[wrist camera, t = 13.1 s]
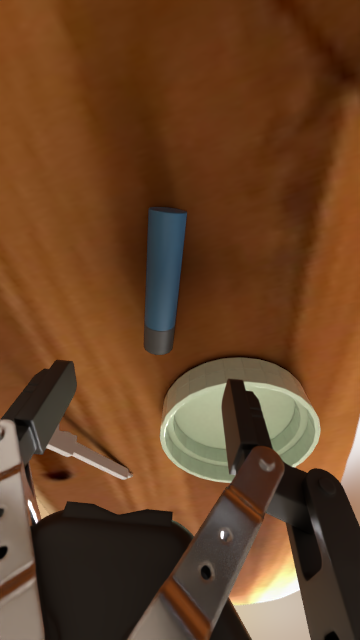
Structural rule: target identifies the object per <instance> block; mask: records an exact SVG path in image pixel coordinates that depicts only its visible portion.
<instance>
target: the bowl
mask: <svg viewBox="0 0 360 640" xmlns="http://www.w3.org/2000/svg"><path fill="white" fill-rule="evenodd" d="M228 378H229V379H239V380H243V381H244V385H245V389H246V391H253V393H254V394H255V395H256V397H257V398H258V399H259V402H260V405H261V411H262V412H263V416H264V419H265V423H266V426H267V430H268V433H269V437H270V440H271V444H272V447H273V449H274V451H275V452H277V453H278V454H279V456H280V457H281V459H282V460H283V461H284V462H285V463H286V464H288V465H290V466H292V467H296V466H297V465H299V464H300V463H302V462H303V461H304V460H305V459H306V458H307V457H308V456H309V455H310V454H311V453H312V451H313V450H314V448H315V446H316V445H317V443H318V440H319V436H320V431H321V429H320V422H319V418H318V416H317V414H316V412H315V410H314V408H313V406H312V404H311V403H310V401H309V399H308V397H307V395H306V393H305V391H304V389H303V388H302V386H301V384H300V382H299V381H298V380H297V379H296V378H295V377H294V376H293V375H292V374H291V373H290V372H288V371H287V370H285V369H283V368H281V367H279V366H278V365H276V364H273V363H270V362H267V361H264V360H260V359H252V358H242V357H238V358H224V359H219V360H215V361H211V362H207V363H204V364H202V365H200V366H198V367H195V368H193V369H191V370H189V371H188V372H187V373H185V374H184V375H183V376H181V377H180V378H179V379H178V380H176V382H175V383H174V384H173V385H172V387H171V388H170V389H169V390H168V393H167V395H166V397H165V399H164V404H163V413H162V421H161V430H160V441H161V444H162V448H163V450H164V452H165V453H166V455H167V456H168V458H169V459H170V460H171V461H172V462H173V463H174V464H175V465H177V466H178V467H179V468H181V469H183V470H184V471H186V472H188V473H190V474H192V475H195V476H197V477H200V478H203V479H207V480H211V481H216V482H226V483H231V482H232V480H233V479H234V477H235V475H230V474H229V469H228V461H227V452H226V444H225V435H224V427H223V419H222V409H221V405H222V398H223V394H224V390H225V387H226V383H227V380H228Z"/></svg>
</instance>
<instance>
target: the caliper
mask: <svg viewBox="0 0 360 640" xmlns="http://www.w3.org/2000/svg"><path fill="white" fill-rule="evenodd" d="M76 440H77V436H76V435H72V434H71V433H70V432H65V431H63V432H62V431H60V430H59V424H58V426H57V428H56V430H55V432H54V434H53V436H52V438H51V439H50V441H49V443H48V445H47V447H46V448H48V449H50V450H52V451H55V452H57V453H59V454H62V455H64V456H66V457H69V456H71V455H72V456H74V457H76V458H78V459H80V460H82V461H84V462H86V463H88V464H90V465H93V466H95V467H97V468H99V469H101V470H103V471H105V472H107V473H109V474H112V475H114V476H116V477H118V478H120V479H122V480H124V479H127V478H130V477H132V476H133V475H132V474H131V473H128V470H129V469H127V468H125V467H124V466H122V465H120V464H118V463H116V462H114V461H112V460H110V459H108V458H106V457H104V456H102V455H100V454H98V453H96V452H94V451H93V450H91V449H89V448H87V447H85V446H83V445H81V444H79V443H77V442H76Z"/></svg>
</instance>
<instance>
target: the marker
mask: <svg viewBox="0 0 360 640" xmlns="http://www.w3.org/2000/svg"><path fill="white" fill-rule="evenodd" d="M186 218H187V212H186V211H184V210H180V209H175V208H167V207H150V208H149V213H148V241H147V269H146V297H145V325H144V348H145V350H146V351H148V352H149V353H151V354H155V355H163V354H167V353H169V352H170V351H171V350H172V348H173V340H174V331H175V321H176V312H177V303H178V293H179V284H180V274H181V265H182V256H183V246H184V237H185V228H186Z"/></svg>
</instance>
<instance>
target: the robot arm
mask: <svg viewBox="0 0 360 640" xmlns="http://www.w3.org/2000/svg"><path fill="white" fill-rule="evenodd" d="M76 386H77V382H76V375H75V369H74V363H73V362H72V361H65V360H56V361H55V362H54V363H53V365H52V366H51V367H50V369H43V370H42V371H40V372H39V373H38V374H36V375H35V376H34V377H33V378H32V380H31V381H30V382H29V383H28V385H27V386H26V387H25V389H24V390H23V392H22V393H21V394H20V395H19V396H18V398H17V399H16V400H15V402H14V403H13V404H12V405H11V407H10V408H9V409H8V411H7V412H6V413H5V414H4V416H3V417H2V418H1V419H0V640H252V639H251V637H250V635H249V634H248V632H247V630H246V628H245V626H244V624H243V622H242V621H241V619H240V617H239V615H238V613H237V612H236V610H235V608H234V606H233V604H232V603H231V601H230V599H229V597H228V596H229V594H230V592H231V590H232V587H233V585H234V583H235V581H236V579H237V577H238V574H239V572H240V570H241V568H242V566H243V563H244V561H245V559H246V557H247V555H248V553H249V550H250V548H251V546H252V544H253V542H254V539H255V537H256V535H257V533H258V531H259V529H260V526H261V524H262V522H263V519H264V515H265V513H267V514H269V515H271V516H273V517H276V518H278V519H280V520H282V521H284V522H286V526H287V531H288V535H289V540H290V545H291V549H292V554H293V559H294V563H295V568H296V573H297V577H298V582H299V587H300V591H301V596H302V600H303V605H304V610H305V615H306V619H307V624H308V629H309V633H310V637H311V640H360V526H359V524H358V521H357V519H356V517H355V514H354V512H353V510H352V507H351V505H350V502H349V500H348V498H347V495H346V493H345V491H344V489H343V487H342V485H341V483H340V482H339V481H338V480H337V479H336V478H335V477H334V476H333V475H332V474H330V473H329V472H327V471H325V470H322V469H317V468H315V469H311V470H310V471H309V472H308V473H306V472H304V471H301V470H299V469H297V468H294V467H292V466H290V465H288V464H286V463H285V462H284V461H283V460H282V459H281V457H280V456H279V454H278V453H277V452H275V451H274V449H273V447H272V444H271V440H270V437H269V433H268V430H267V426H266V423H265V419H264V416H263V412H262V411H261V405H260V402H259V399H258V398H257V397H256V395H255V394H254V393H253V391H246V389H245V385H244V381H243V380H239V379H229V378H228V380H227V383H226V387H225V390H224V394H223V398H222V405H221V409H222V419H223V427H224V435H225V444H226V452H227V461H228V469H229V474H230V475H235V477H234V479H233V480H232V482H231V483H230V485H229V486H228V487H226V488H225V490H224V491H223V493H222V494H221V496H220V497H219V499H218V500H217V502H216V504H215V505H214V507H213V508H212V510H211V511H210V513H209V515H208V516H207V518H206V519H205V521H204V522H203V524H202V525H201V527H200V529H199V530H198V532H197V533H196V535H195V536H193V535H192V534H191V533H190V532H189V531H188V530H187V529H186V528H185V527H184V526H182V525H181V524H179V523H177V522H175V521H173V520H172V513H173V512H169V511H159V510H149V509H146V510H141V511H136V512H131V513H126V514H121V515H117V514H115V513H112V512H110V511H108V510H106V509H103V508H101V507H99V506H97V505H94V504H88V503H78V502H68V501H67V504H66V506H65V509H64V510H62V511H58V512H56V513H53V514H51V515H49V516H46V517H45V518H43V519H41V516H40V512H39V509H38V505H37V501H36V495H35V490H34V485H33V479H32V474H31V469H30V464H29V461H30V459H31V457H32V455H33V454H42V455H43V453H44V451H45V449H46V447H47V445H48V443H49V441H50V439H51V438H52V436H53V434H54V432H55V430H56V428H57V426H58V424H59V422H60V421H61V419H62V417H63V415H64V413H65V411H66V409H67V407H68V406H69V404H70V402H71V400H72V398H73V396H74V394H75V391H76Z"/></svg>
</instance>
